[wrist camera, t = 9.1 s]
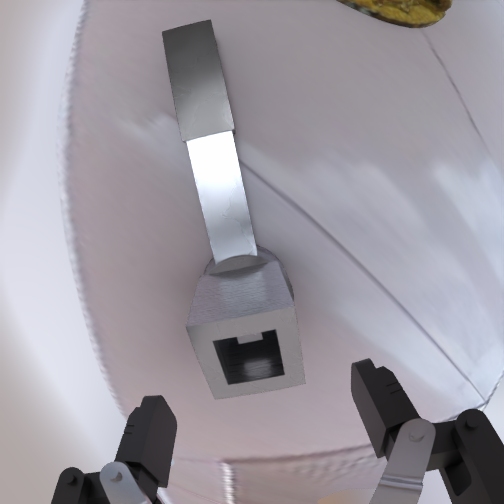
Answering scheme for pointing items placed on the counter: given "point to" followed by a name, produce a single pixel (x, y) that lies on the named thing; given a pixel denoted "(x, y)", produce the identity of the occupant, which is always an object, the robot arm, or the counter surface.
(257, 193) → the counter surface
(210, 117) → the ratchet
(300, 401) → the counter surface
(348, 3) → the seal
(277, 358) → the hollow square tube
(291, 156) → the counter surface
